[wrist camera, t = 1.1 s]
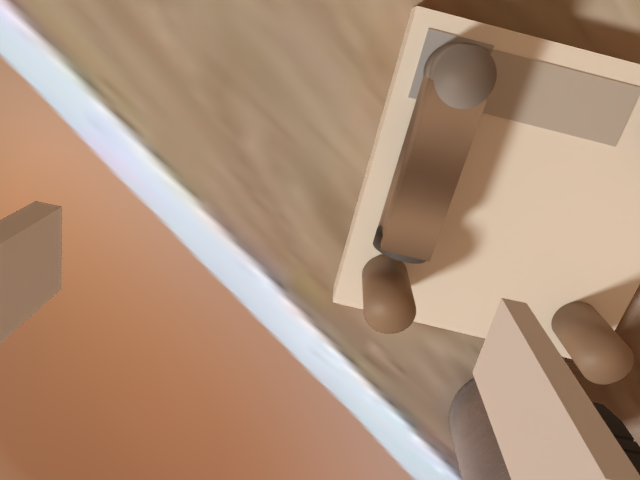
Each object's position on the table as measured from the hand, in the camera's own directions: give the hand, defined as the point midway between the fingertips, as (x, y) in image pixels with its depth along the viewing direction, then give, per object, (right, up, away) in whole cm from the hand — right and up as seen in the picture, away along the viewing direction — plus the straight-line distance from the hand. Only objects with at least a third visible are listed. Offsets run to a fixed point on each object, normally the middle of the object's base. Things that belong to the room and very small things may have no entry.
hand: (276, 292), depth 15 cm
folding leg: (+8, +7, +17) cm, 20 cm away
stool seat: (+14, +5, +21) cm, 26 cm away
